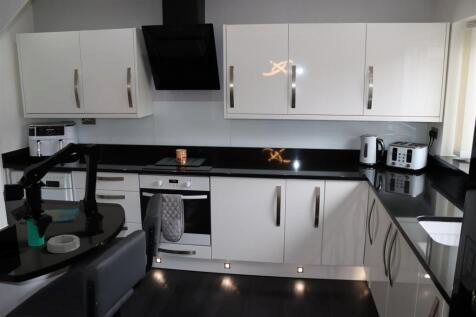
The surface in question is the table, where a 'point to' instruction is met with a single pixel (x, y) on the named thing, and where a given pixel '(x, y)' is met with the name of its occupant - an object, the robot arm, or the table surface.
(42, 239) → the candle
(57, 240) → the candle dish
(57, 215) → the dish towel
